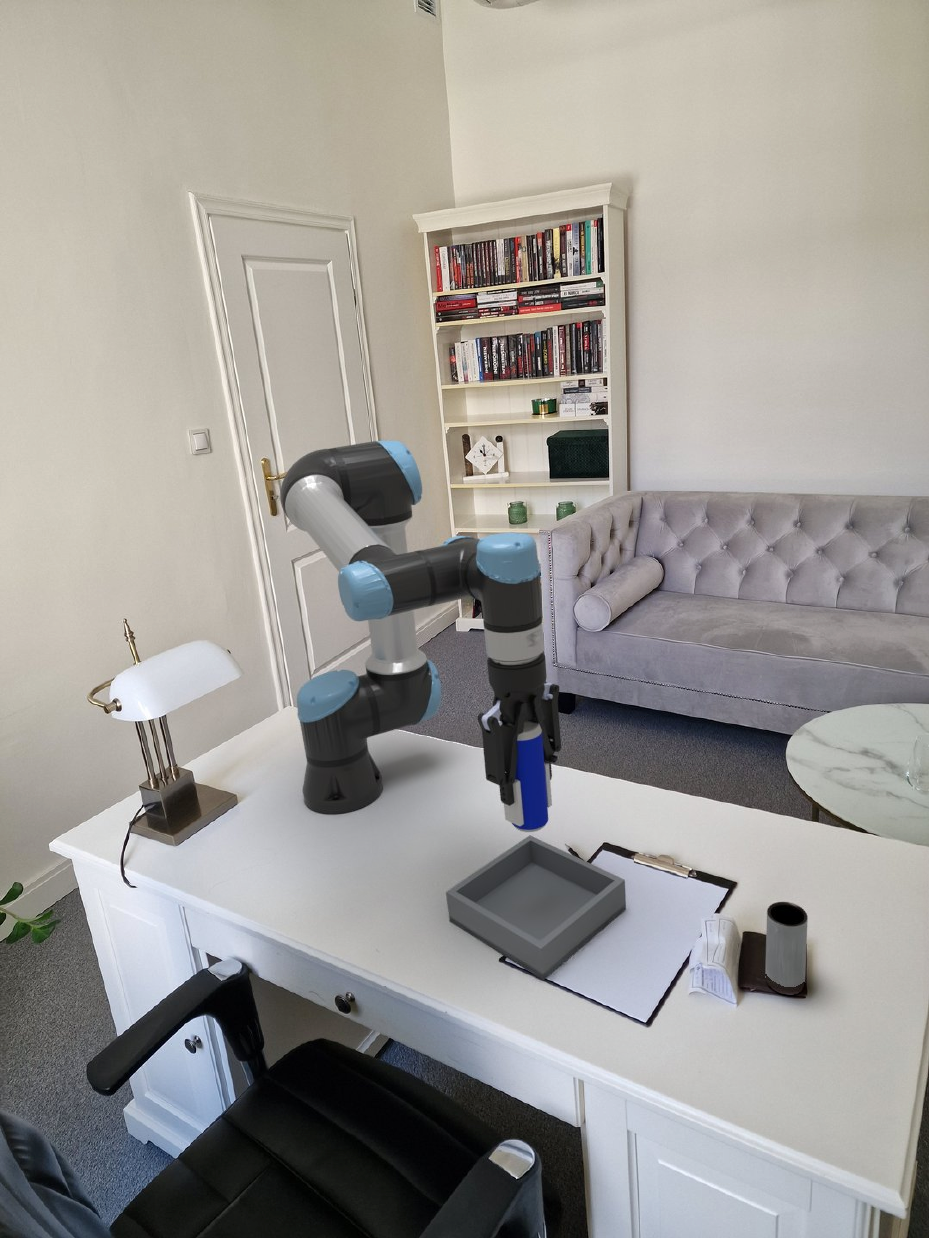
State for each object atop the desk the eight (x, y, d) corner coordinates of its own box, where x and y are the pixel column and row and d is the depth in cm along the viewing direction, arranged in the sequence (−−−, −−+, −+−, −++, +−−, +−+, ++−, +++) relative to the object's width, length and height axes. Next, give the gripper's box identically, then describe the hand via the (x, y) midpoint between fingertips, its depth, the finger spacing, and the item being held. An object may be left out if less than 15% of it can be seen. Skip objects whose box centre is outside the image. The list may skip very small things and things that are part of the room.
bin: (449, 920, 117) (445, 891, 115) (532, 862, 128) (529, 834, 127) (543, 980, 104) (541, 948, 103) (626, 909, 116) (624, 879, 114)
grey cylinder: (758, 984, 100) (760, 915, 97) (775, 963, 103) (777, 896, 100) (794, 1002, 97) (797, 931, 94) (811, 980, 100) (814, 911, 97)
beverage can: (551, 814, 113) (544, 717, 108) (545, 835, 108) (537, 734, 104) (515, 811, 114) (507, 715, 110) (507, 832, 110) (498, 733, 105)
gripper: (486, 684, 95) (503, 853, 102) (583, 638, 107) (591, 793, 114) (444, 671, 101) (462, 832, 108) (540, 629, 112) (551, 777, 119)
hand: (528, 812), depth 111 cm, fingers closed on beverage can, 5 cm apart
